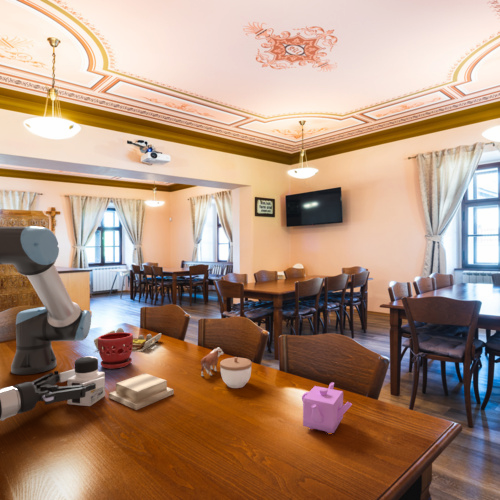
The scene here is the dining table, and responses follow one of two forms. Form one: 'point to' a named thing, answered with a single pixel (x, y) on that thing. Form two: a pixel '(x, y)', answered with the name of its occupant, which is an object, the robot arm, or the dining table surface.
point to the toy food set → (136, 341)
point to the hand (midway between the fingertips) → (91, 376)
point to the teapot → (323, 408)
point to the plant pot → (115, 349)
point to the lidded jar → (235, 371)
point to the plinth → (141, 403)
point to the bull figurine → (211, 360)
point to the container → (86, 380)
